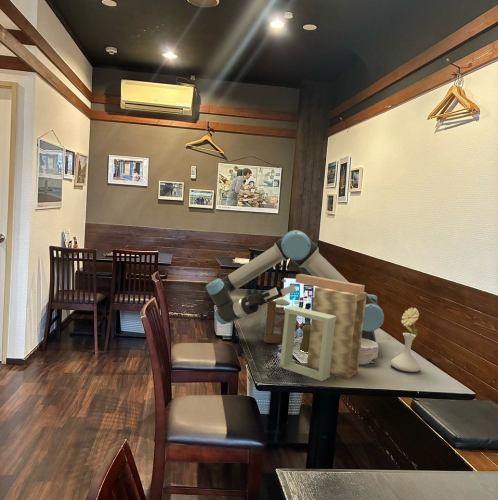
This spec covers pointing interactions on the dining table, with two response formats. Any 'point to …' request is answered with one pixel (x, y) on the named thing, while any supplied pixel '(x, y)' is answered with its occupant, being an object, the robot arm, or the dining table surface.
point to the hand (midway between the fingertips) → (286, 289)
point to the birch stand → (338, 330)
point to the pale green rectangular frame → (325, 346)
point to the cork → (305, 338)
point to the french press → (280, 312)
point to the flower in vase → (407, 344)
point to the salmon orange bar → (330, 284)
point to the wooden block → (273, 325)
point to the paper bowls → (368, 351)
